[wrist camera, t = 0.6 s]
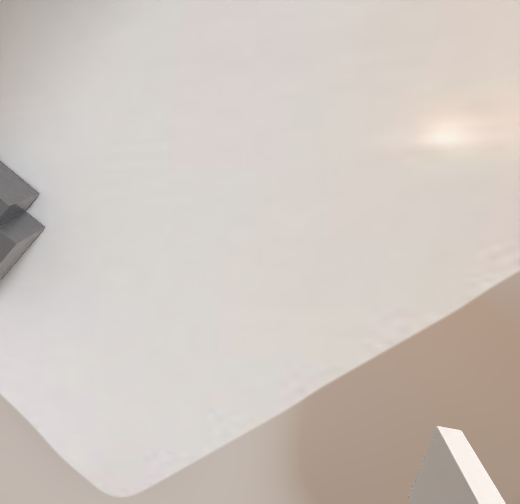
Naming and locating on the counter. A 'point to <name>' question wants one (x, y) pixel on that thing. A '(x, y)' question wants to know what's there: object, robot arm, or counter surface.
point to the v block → (15, 218)
